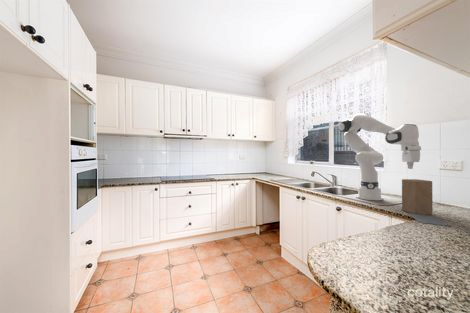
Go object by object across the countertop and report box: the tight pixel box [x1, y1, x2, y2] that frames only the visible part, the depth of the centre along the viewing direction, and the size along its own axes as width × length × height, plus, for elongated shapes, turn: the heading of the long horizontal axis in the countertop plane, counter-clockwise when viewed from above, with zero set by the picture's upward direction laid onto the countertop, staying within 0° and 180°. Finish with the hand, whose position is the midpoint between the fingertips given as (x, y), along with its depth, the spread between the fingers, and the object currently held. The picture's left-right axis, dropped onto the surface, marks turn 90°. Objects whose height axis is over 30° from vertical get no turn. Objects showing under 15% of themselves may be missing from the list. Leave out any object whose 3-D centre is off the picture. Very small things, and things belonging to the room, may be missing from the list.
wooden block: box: [401, 178, 434, 216], centre depth 120 cm, size 10×10×20 cm
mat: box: [407, 212, 453, 227], centre depth 106 cm, size 18×12×1 cm, turn 153°
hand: (410, 168), depth 130 cm, fingers closed
